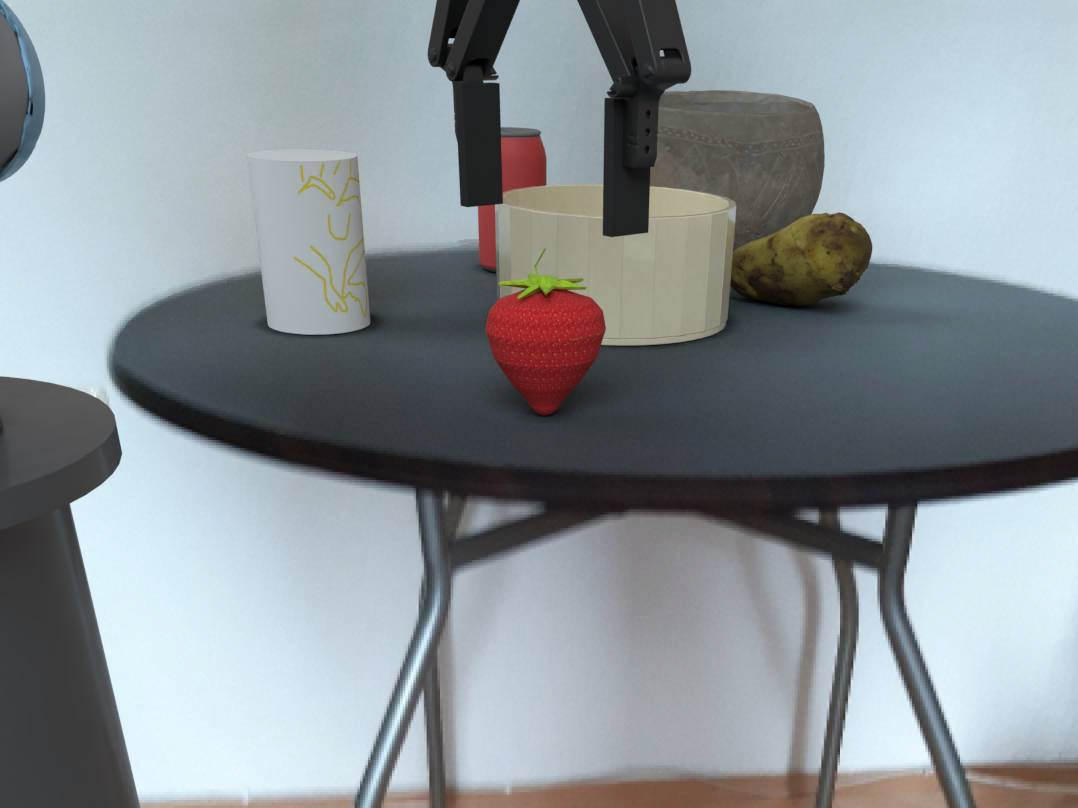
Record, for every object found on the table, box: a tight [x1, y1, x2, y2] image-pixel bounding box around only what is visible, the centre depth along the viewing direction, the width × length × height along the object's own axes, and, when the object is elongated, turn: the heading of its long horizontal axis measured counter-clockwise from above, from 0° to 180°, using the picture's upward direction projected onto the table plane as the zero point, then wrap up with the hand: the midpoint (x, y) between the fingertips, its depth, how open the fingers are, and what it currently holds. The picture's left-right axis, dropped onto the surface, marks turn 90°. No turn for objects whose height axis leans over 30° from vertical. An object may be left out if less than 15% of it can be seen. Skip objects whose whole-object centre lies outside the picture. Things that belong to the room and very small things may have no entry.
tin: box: [495, 183, 736, 347], centre depth 98 cm, size 19×19×9 cm
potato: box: [730, 211, 873, 307], centre depth 103 cm, size 8×13×8 cm, turn 31°
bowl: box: [650, 89, 826, 252], centre depth 116 cm, size 21×21×15 cm
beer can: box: [477, 126, 548, 274], centre depth 114 cm, size 7×7×12 cm
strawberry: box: [485, 248, 606, 417], centre depth 74 cm, size 6×8×10 cm
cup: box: [246, 148, 371, 336], centre depth 93 cm, size 8×8×12 cm
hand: (549, 219), depth 70 cm, fingers open, 13 cm apart
